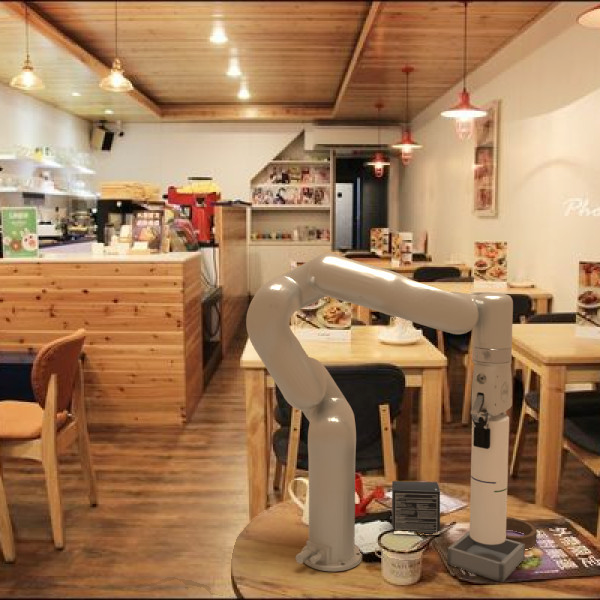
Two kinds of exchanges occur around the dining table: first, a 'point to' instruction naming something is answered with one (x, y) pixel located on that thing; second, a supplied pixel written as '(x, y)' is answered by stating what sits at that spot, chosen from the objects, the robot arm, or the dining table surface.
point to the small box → (416, 506)
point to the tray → (486, 557)
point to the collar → (522, 527)
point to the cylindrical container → (490, 484)
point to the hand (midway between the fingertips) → (489, 441)
